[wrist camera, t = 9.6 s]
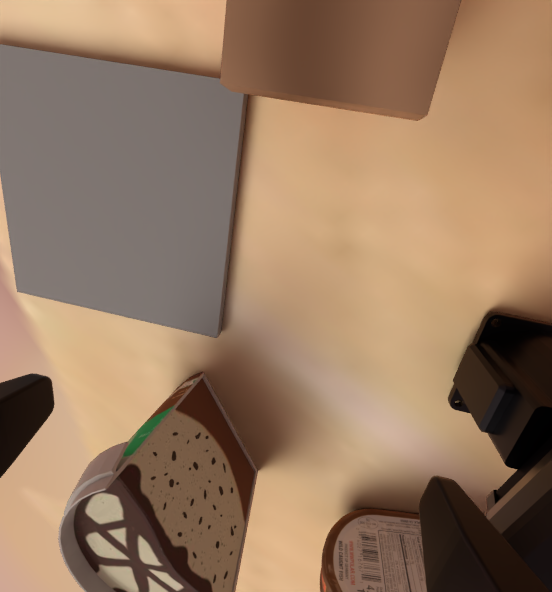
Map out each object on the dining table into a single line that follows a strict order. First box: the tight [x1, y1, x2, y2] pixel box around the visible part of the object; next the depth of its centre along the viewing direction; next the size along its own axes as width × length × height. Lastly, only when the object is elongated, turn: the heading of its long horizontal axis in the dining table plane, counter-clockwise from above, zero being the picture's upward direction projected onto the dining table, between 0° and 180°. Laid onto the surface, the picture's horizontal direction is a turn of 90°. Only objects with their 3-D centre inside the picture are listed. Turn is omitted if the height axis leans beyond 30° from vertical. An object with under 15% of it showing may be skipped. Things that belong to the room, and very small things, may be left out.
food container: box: [58, 372, 258, 592], centre depth 21 cm, size 12×6×10 cm, turn 24°
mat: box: [0, 44, 248, 338], centre depth 20 cm, size 14×14×1 cm
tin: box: [320, 509, 427, 592], centre depth 21 cm, size 15×3×8 cm, turn 93°
